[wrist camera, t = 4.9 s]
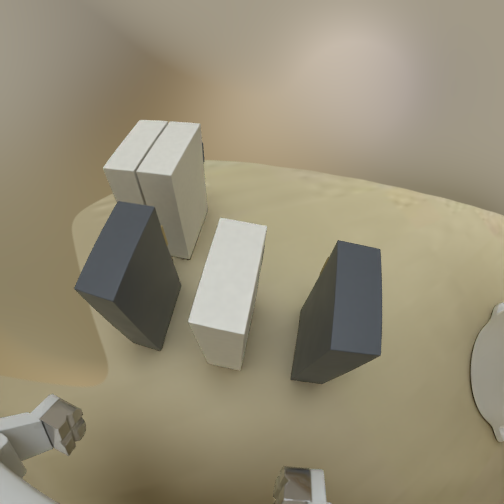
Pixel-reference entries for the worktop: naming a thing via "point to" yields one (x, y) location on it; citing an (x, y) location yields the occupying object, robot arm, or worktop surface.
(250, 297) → the white book
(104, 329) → the worktop surface
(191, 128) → the white book
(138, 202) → the white book
